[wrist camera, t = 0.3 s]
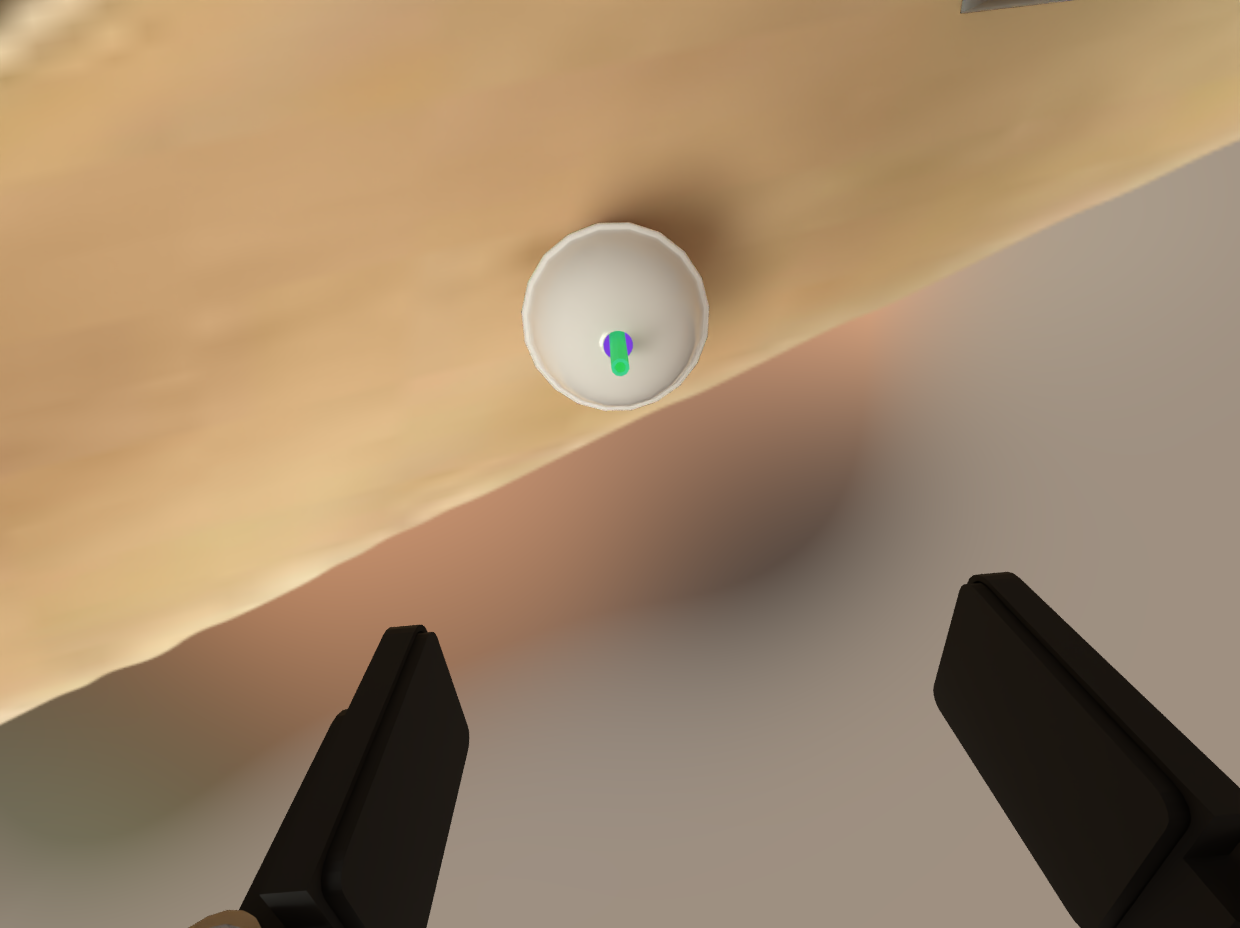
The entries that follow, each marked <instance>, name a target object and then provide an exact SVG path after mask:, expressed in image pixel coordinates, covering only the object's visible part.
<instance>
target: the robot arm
mask: <svg viewBox="0 0 1240 928" xmlns="http://www.w3.org/2000/svg"><path fill="white" fill-rule="evenodd" d="M933 691H934V698H935V701H936V704H937V706H938V708H939V710H940V711H941V713H942V715H943V716H944V718H945V719H946V721H947V722H948V724H949V726H950V727H951V729H952V730H953V732H954V733H955V735H956V737H957V738H958V739H959V741H960V743H961V744H962V746H963V748H964V749H965V751H966V752H967V754H968V755H969V757H970V758H971V760H972V762H973V763H974V765H975V766H976V768H977V770H978V771H979V773H980V774H981V776H982V777H983V779H984V781H985V782H986V784H987V785H988V786H989V788H990V790H991V792H992V793H993V794H994V796H995V798H996V799H997V801H998V803H999V804H1000V806H1001V807H1002V809H1003V810H1004V812H1005V813H1006V815H1007V817H1008V818H1009V820H1010V821H1011V823H1012V825H1013V826H1014V827H1015V829H1016V831H1017V832H1018V834H1019V835H1020V837H1021V839H1022V840H1023V842H1024V843H1025V845H1026V846H1027V848H1028V850H1029V851H1030V853H1031V854H1032V856H1033V857H1034V859H1035V861H1036V862H1037V864H1038V865H1039V867H1040V868H1041V870H1042V871H1043V873H1044V875H1045V876H1046V878H1047V879H1048V881H1049V883H1050V884H1051V886H1052V887H1053V889H1054V890H1055V892H1056V894H1057V895H1058V896H1059V898H1060V900H1061V901H1062V903H1063V905H1064V906H1065V908H1066V909H1067V911H1068V912H1069V914H1070V915H1071V917H1072V918H1073V920H1074V921H1075V922H1076V923H1077V924H1078V925H1079V926H1080V927H1081V928H1240V788H1239V787H1238V786H1237V785H1236V784H1235V783H1234V782H1233V781H1232V780H1231V779H1230V778H1229V777H1228V776H1227V775H1226V774H1225V773H1224V772H1222V771H1221V770H1220V769H1219V768H1218V767H1217V766H1216V765H1215V764H1214V763H1213V762H1212V761H1211V760H1210V759H1209V758H1208V757H1207V756H1206V755H1205V754H1203V752H1201V751H1200V750H1199V749H1198V748H1197V747H1196V746H1195V745H1194V744H1193V743H1192V742H1191V741H1190V740H1189V739H1188V738H1187V737H1186V736H1185V735H1184V734H1183V733H1181V731H1179V730H1178V729H1177V728H1176V727H1175V726H1174V725H1173V724H1172V723H1171V722H1170V721H1169V720H1168V719H1167V718H1166V717H1165V716H1164V715H1163V714H1161V712H1160V711H1158V710H1157V709H1156V708H1155V707H1154V706H1153V705H1152V704H1151V703H1150V702H1149V701H1148V700H1147V699H1146V698H1145V697H1144V696H1143V695H1142V694H1141V693H1140V692H1138V690H1136V689H1135V688H1134V687H1133V686H1132V685H1131V684H1130V683H1129V682H1128V681H1127V680H1126V679H1125V678H1124V677H1123V676H1122V675H1121V674H1120V673H1119V672H1118V671H1117V670H1116V669H1114V668H1113V667H1112V666H1111V665H1110V664H1109V663H1108V662H1107V661H1106V660H1105V659H1104V658H1103V657H1102V656H1101V655H1100V654H1099V653H1098V652H1097V651H1096V650H1094V649H1093V648H1092V647H1091V646H1090V645H1089V644H1088V643H1087V642H1086V641H1085V640H1084V639H1083V638H1082V637H1081V636H1080V635H1079V634H1078V633H1077V632H1075V630H1073V628H1071V627H1070V626H1069V625H1068V624H1067V623H1066V622H1065V621H1064V620H1063V619H1062V618H1061V617H1060V616H1059V615H1058V614H1057V613H1056V612H1055V611H1054V610H1053V609H1052V608H1050V607H1049V606H1048V605H1047V604H1046V603H1045V602H1044V601H1043V600H1042V599H1041V598H1040V597H1039V596H1038V595H1037V594H1036V593H1035V592H1034V591H1033V590H1031V588H1029V587H1028V586H1027V585H1026V584H1025V583H1024V582H1023V581H1022V580H1021V579H1020V578H1019V577H1018V576H1016V575H1015V574H1013V573H1010V572H1002V573H990V574H980V575H973V576H972V577H971V578H970V579H969V581H968V583H967V584H964V585H963V586H961V589H960V591H959V594H958V598H957V602H956V606H955V609H954V613H953V617H952V620H951V624H950V628H949V632H948V635H947V639H946V643H945V646H944V650H943V654H942V657H941V661H940V665H939V669H938V672H937V676H936V680H935V683H934V689H933ZM468 747H469V729H468V726H467V723H466V720H465V717H464V714H463V711H462V708H461V705H460V702H459V699H458V696H457V694H456V691H455V688H454V685H453V682H452V679H451V676H450V673H449V670H448V667H447V664H446V662H445V659H444V656H443V653H442V650H441V647H440V644H439V641H438V638H437V636H436V634H435V633H434V632H427V630H426V628H425V627H424V626H423V625H412V626H400V627H390V628H389V629H387V630H386V632H385V633H384V635H383V637H382V639H381V641H380V643H379V645H378V647H377V649H376V651H375V654H374V656H373V658H372V660H371V662H370V664H369V666H368V668H367V670H366V672H365V674H364V676H363V679H362V681H361V683H360V685H359V687H358V689H357V691H356V693H355V695H354V697H353V699H352V702H351V704H350V706H349V708H348V709H345V710H343V711H341V712H340V713H339V714H338V715H337V716H336V718H335V719H334V721H333V722H332V724H331V726H330V728H329V730H328V732H327V734H326V736H325V738H324V740H323V742H322V744H321V746H320V748H319V750H318V752H317V754H316V756H315V758H314V760H313V762H312V764H311V766H310V768H309V770H308V772H307V774H306V776H305V778H304V780H303V782H302V784H301V786H300V788H299V790H298V792H297V794H296V796H295V798H294V800H293V802H292V804H291V806H290V808H289V810H288V812H287V814H286V816H285V818H284V820H283V822H282V824H281V826H280V828H279V830H278V833H277V834H276V837H275V838H274V841H273V842H272V844H271V847H270V849H269V851H268V853H267V855H266V856H265V858H264V861H263V863H262V865H261V867H260V869H259V871H258V873H257V875H256V877H255V879H254V881H253V883H252V885H251V887H250V889H249V891H248V893H247V895H246V897H245V899H244V901H243V903H242V905H241V907H240V909H239V910H226V911H223V912H219V913H216V914H213V915H210V916H207V917H206V918H204V919H202V920H201V921H199V922H197V923H195V924H194V925H192V926H190V927H189V928H426V927H427V923H428V918H429V914H430V910H431V905H432V901H433V897H434V893H435V889H436V884H437V880H438V876H439V871H440V867H441V863H442V859H443V855H444V850H445V846H446V842H447V837H448V833H449V829H450V824H451V820H452V816H453V812H454V807H455V803H456V799H457V795H458V790H459V786H460V782H461V777H462V773H463V769H464V765H465V761H466V756H467V752H468Z"/></svg>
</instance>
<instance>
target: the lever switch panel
mask: <svg viewBox="0 0 1240 928" xmlns="http://www.w3.org/2000/svg"><path fill="white" fill-rule="evenodd" d="M1063 1H1071V0H963V1H962V7H961V13H968V12H977V11H985V10H994V9H1002V8H1011V7H1020V6H1028V5H1037V4H1045V3H1054V2H1063Z"/></svg>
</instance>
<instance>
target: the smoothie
mask: <svg viewBox="0 0 1240 928" xmlns="http://www.w3.org/2000/svg"><path fill="white" fill-rule="evenodd" d="M521 313H522V322H523V331H524V341H525V343H526V346H527V348H528V350H529V353H530V355H531V357H532V360H533V362H534V364H535V366H536V368H537V369H538V371H539V372H540V373H541V374H542V375H543V376H544V377H545V379H546V380H547V381H548V382H549V383H550V384H551V385H552V387H553V388H554V389H555V390H557V391H559V392H560V393H562V394H563V395H565V396H566V397H568V398H570V399H571V400H573V401H574V402H576V403H578V404H581V405H584V406H588V407H592V408H596V409H600V410H603V411H616V410H633V409H636V408H639V407H642V406H645V405H648V404H651V403H654V402H657V401H659V400H660V399H662V398H663V397H664V396H666V395H667V394H669V393H670V392H672V391H673V390H674V389H676V388H677V387H679V386H680V385H681V384H682V383H683V381H684V380H685V379H686V377H687V376H688V375H689V373H690V372H691V371H692V370H693V368H694V367H695V366H696V364H697V363H698V360H699V358H700V355H701V353H702V350H703V347H704V345H705V342H706V339H707V337H708V322H709V303H708V299H707V296H706V292H705V288H704V284H703V280H702V277H701V275H700V274H699V272H698V271H697V269H696V268H695V266H694V265H693V263H692V262H691V260H690V259H689V257H688V256H687V254H686V253H685V251H684V250H682V249H681V248H680V247H678V246H677V245H676V244H675V243H673V242H672V241H671V240H669V239H668V238H667V237H666V236H664V235H663V234H662V233H660V232H658V231H655V230H652V229H649V228H646V227H643V226H640V225H637V224H634V223H631V222H612V223H596V224H593V225H591V226H588V227H586V228H583V229H580V230H578V231H575V232H573V233H570V234H568V235H567V236H565V237H564V238H563V239H562V240H561V241H559V242H558V243H557V244H556V245H555V246H554V247H552V248H551V249H550V250H549V251H548V252H546V253H545V254H544V255H543V257H542V258H541V260H540V262H539V264H538V265H537V267H536V269H535V270H534V272H533V274H532V276H531V277H530V279H529V281H528V283H527V288H526V293H525V297H524V302H523V306H522V311H521Z"/></svg>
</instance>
